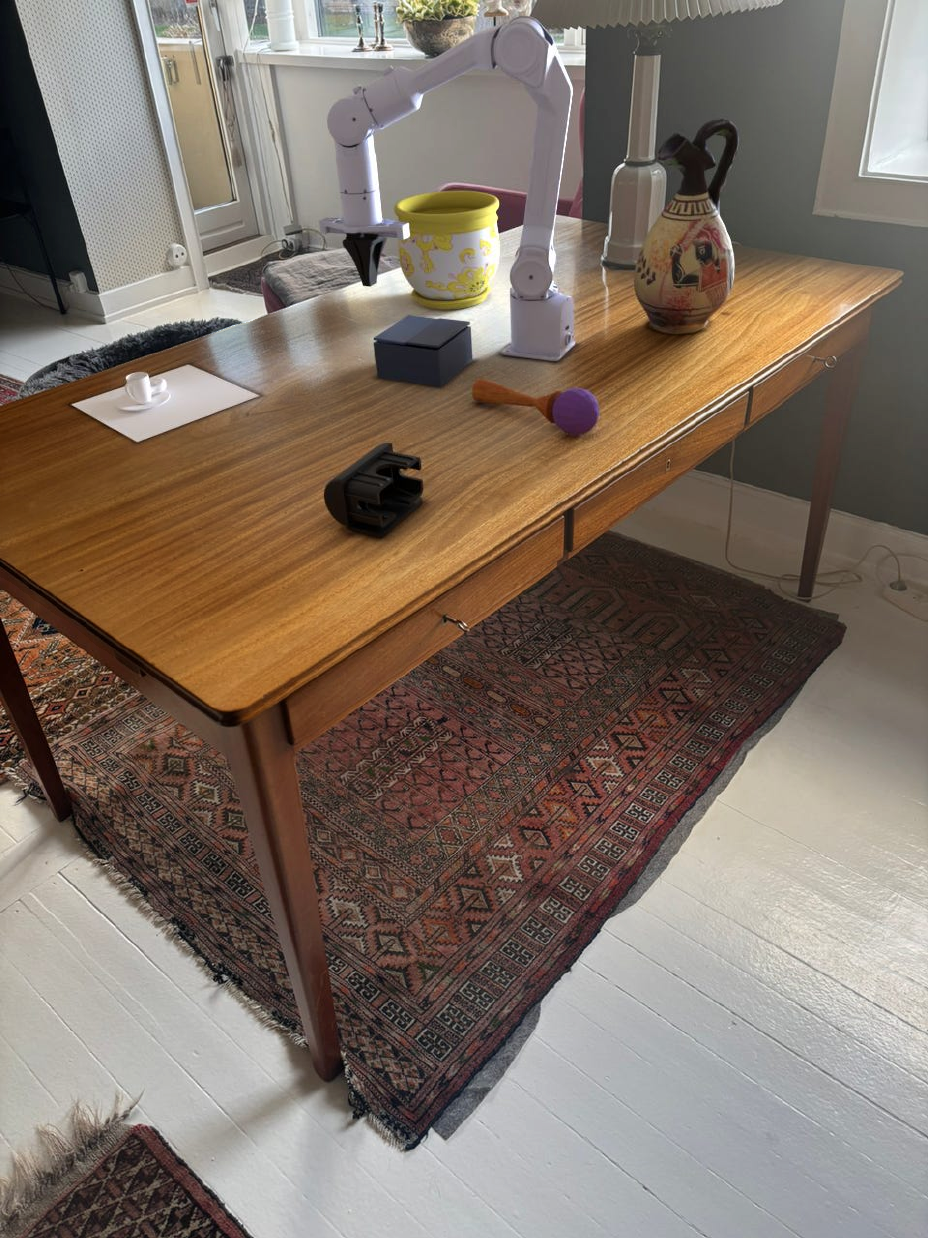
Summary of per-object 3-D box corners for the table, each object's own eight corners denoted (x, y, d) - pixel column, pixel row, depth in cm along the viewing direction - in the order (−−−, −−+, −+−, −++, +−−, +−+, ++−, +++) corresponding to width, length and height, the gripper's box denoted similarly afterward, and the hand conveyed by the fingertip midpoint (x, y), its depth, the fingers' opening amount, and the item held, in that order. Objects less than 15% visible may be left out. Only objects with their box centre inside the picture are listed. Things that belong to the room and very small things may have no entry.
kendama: (495, 366, 132) (610, 388, 119) (493, 408, 134) (606, 435, 122) (465, 371, 128) (581, 395, 116) (464, 414, 131) (578, 442, 118)
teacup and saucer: (158, 385, 143) (152, 359, 141) (186, 398, 138) (179, 372, 136) (105, 404, 138) (98, 377, 136) (132, 418, 134) (124, 391, 131)
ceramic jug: (657, 347, 145) (673, 133, 128) (616, 317, 157) (625, 117, 140) (755, 331, 149) (784, 120, 131) (708, 303, 161) (728, 106, 143)
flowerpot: (382, 300, 171) (372, 204, 162) (457, 277, 180) (452, 185, 171) (445, 322, 160) (438, 220, 150) (522, 296, 169) (520, 199, 159)
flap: (373, 340, 138) (373, 337, 138) (408, 316, 145) (408, 314, 145) (404, 344, 136) (404, 342, 136) (438, 321, 144) (438, 318, 143)
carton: (377, 377, 141) (372, 337, 138) (411, 352, 149) (408, 314, 145) (440, 386, 137) (437, 345, 134) (472, 360, 145) (470, 321, 141)
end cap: (376, 489, 113) (370, 437, 109) (426, 500, 110) (422, 448, 106) (327, 528, 106) (318, 474, 102) (379, 541, 103) (373, 487, 99)
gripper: (302, 193, 137) (316, 287, 145) (389, 198, 131) (398, 296, 139) (328, 182, 142) (340, 274, 150) (413, 187, 136) (420, 282, 144)
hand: (369, 284), depth 145 cm, fingers closed
